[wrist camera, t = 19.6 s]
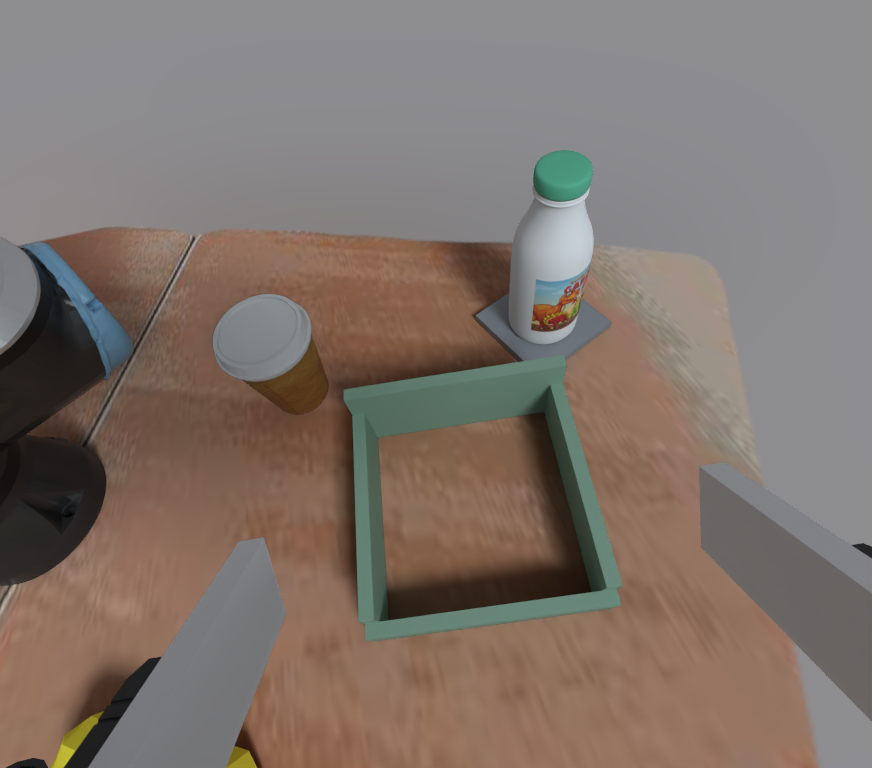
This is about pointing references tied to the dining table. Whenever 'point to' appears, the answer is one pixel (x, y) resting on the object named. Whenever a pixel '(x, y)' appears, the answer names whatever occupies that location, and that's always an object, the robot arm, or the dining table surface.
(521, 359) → the slate tile
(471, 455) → the dining table surface
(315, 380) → the disposable coffee cup
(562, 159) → the milk bottle
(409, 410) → the green wooden frame
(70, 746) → the yellow faceted block
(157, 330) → the dining table surface
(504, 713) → the dining table surface
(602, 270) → the dining table surface
